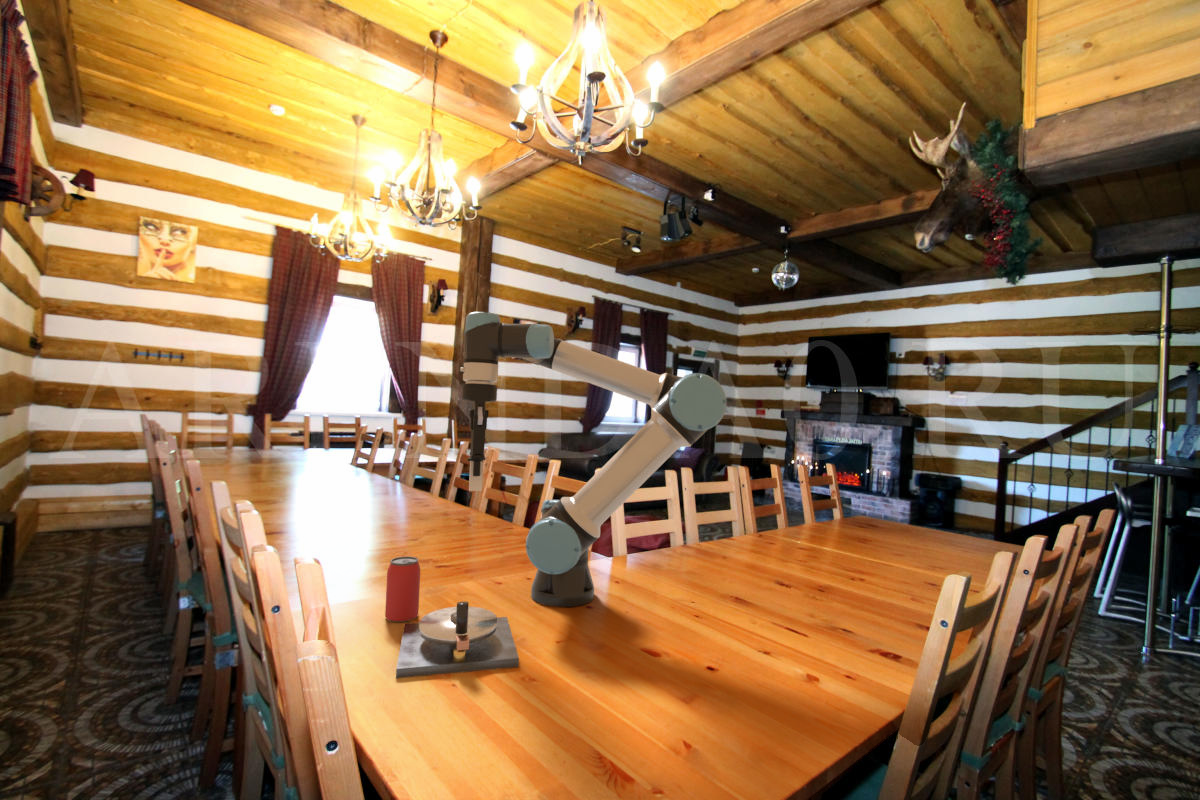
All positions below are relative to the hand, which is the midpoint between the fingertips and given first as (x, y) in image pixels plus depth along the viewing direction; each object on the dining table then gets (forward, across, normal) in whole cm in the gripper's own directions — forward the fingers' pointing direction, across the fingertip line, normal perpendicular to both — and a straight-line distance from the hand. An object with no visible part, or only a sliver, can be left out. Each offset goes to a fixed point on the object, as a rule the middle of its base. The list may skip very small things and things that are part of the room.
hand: (475, 490), depth 119 cm
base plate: (+26, +18, -3) cm, 32 cm away
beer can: (+27, +1, -14) cm, 30 cm away
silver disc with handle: (+23, +19, -3) cm, 30 cm away
